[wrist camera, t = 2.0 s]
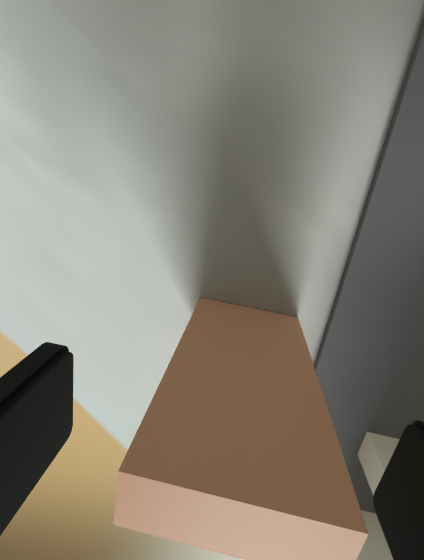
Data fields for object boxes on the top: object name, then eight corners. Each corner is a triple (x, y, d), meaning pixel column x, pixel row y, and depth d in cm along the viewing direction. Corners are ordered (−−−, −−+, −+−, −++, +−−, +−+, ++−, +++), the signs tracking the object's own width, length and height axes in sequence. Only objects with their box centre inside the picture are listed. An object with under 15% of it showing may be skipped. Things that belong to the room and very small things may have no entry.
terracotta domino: (290, 344, 16) (344, 585, 6) (196, 325, 16) (113, 524, 7) (297, 317, 15) (368, 534, 6) (200, 297, 16) (117, 471, 6)
